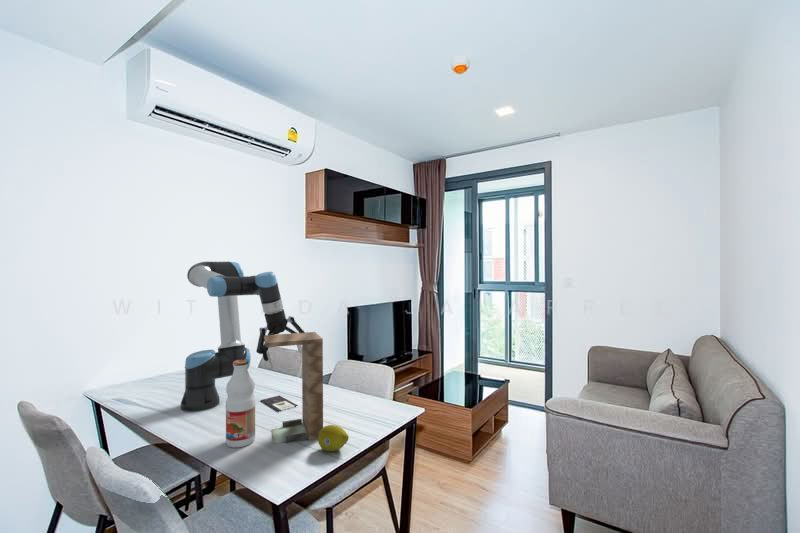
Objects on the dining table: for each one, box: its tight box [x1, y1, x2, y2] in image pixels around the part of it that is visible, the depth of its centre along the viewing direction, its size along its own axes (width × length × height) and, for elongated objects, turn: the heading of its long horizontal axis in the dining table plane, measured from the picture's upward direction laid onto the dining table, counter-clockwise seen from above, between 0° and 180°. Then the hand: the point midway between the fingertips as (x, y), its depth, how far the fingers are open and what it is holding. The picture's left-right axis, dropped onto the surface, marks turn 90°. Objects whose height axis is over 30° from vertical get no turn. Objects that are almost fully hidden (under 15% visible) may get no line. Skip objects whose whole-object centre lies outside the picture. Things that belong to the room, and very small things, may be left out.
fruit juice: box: [225, 360, 256, 448], centre depth 130 cm, size 9×9×28 cm
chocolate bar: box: [260, 394, 299, 413], centre depth 166 cm, size 9×1×18 cm
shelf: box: [264, 331, 324, 444], centre depth 136 cm, size 19×16×35 cm
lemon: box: [317, 424, 349, 453], centre depth 123 cm, size 11×8×8 cm
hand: (286, 359), depth 152 cm, fingers open, 13 cm apart
